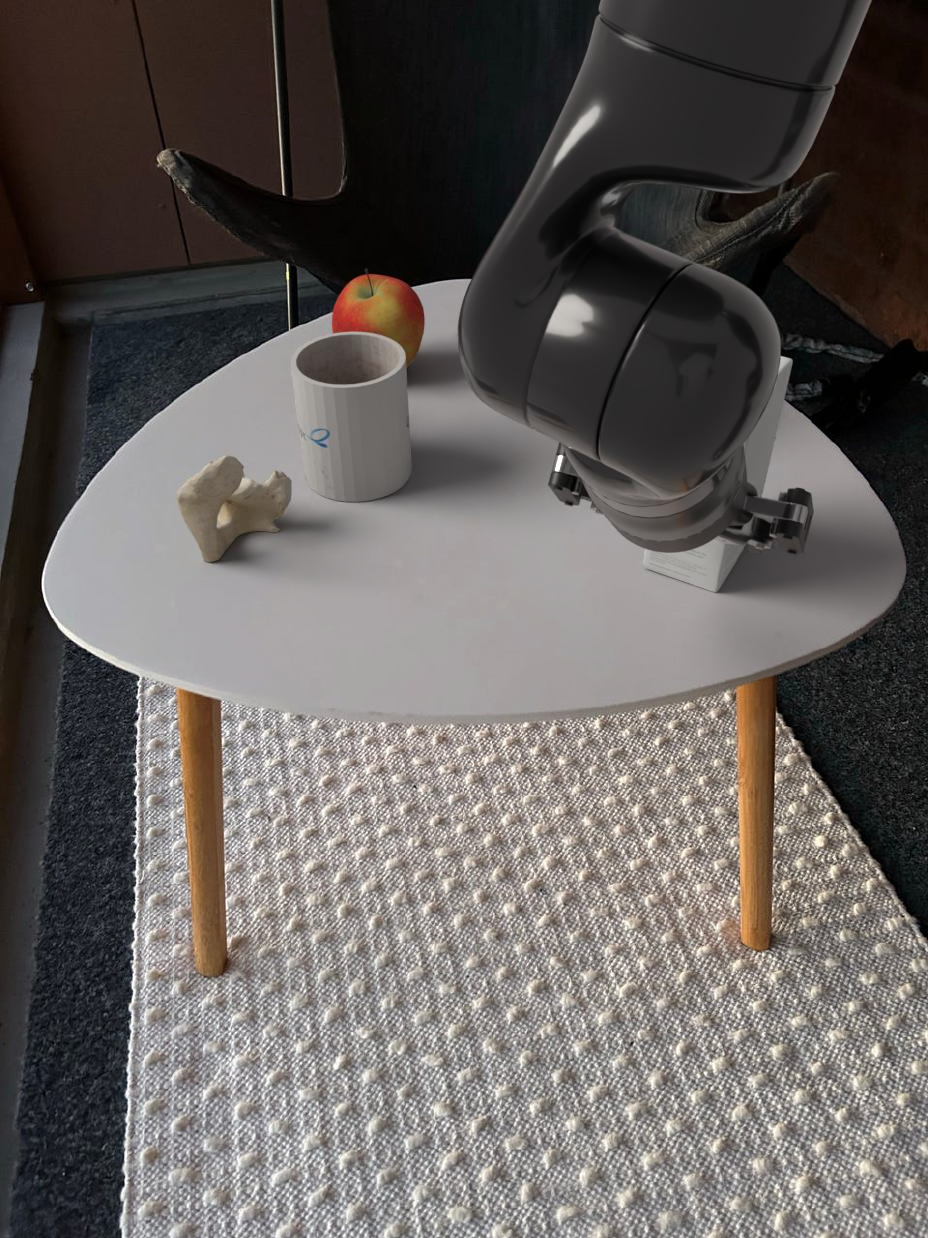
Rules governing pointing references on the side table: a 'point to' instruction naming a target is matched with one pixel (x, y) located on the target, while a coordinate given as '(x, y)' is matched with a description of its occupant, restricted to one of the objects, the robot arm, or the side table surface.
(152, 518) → the side table surface
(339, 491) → the mug
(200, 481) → the bone
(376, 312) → the apple
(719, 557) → the cosmetic box
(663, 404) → the robot arm
